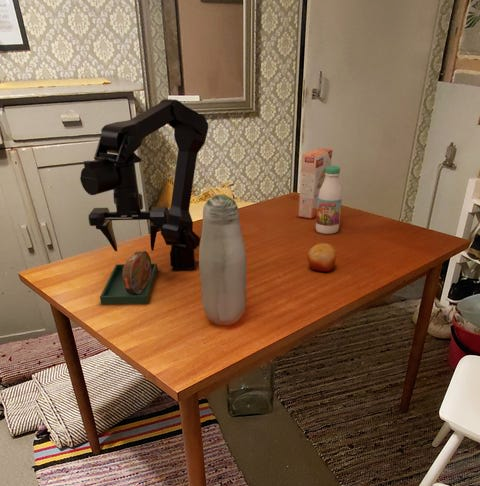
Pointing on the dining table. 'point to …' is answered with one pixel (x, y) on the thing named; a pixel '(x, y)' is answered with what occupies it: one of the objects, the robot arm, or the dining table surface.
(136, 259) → the tin
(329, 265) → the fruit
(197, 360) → the dining table surface
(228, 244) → the glass bottle
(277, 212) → the dining table surface
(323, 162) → the cracker box
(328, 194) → the milk bottle
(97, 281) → the dining table surface
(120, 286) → the tray
